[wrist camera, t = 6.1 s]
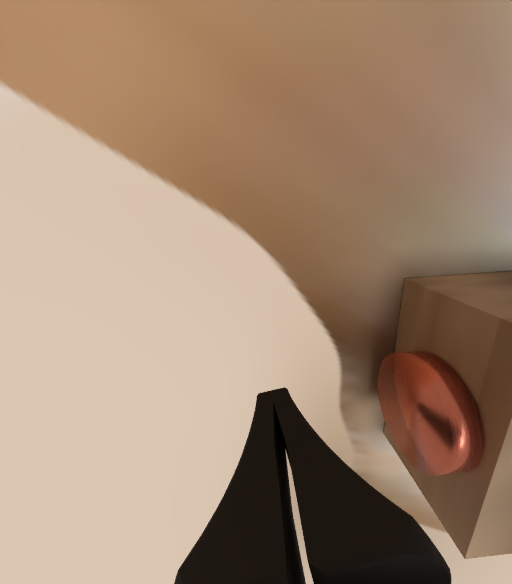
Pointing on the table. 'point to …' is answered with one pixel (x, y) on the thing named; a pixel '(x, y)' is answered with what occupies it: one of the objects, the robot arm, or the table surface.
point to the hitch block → (484, 389)
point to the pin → (430, 413)
